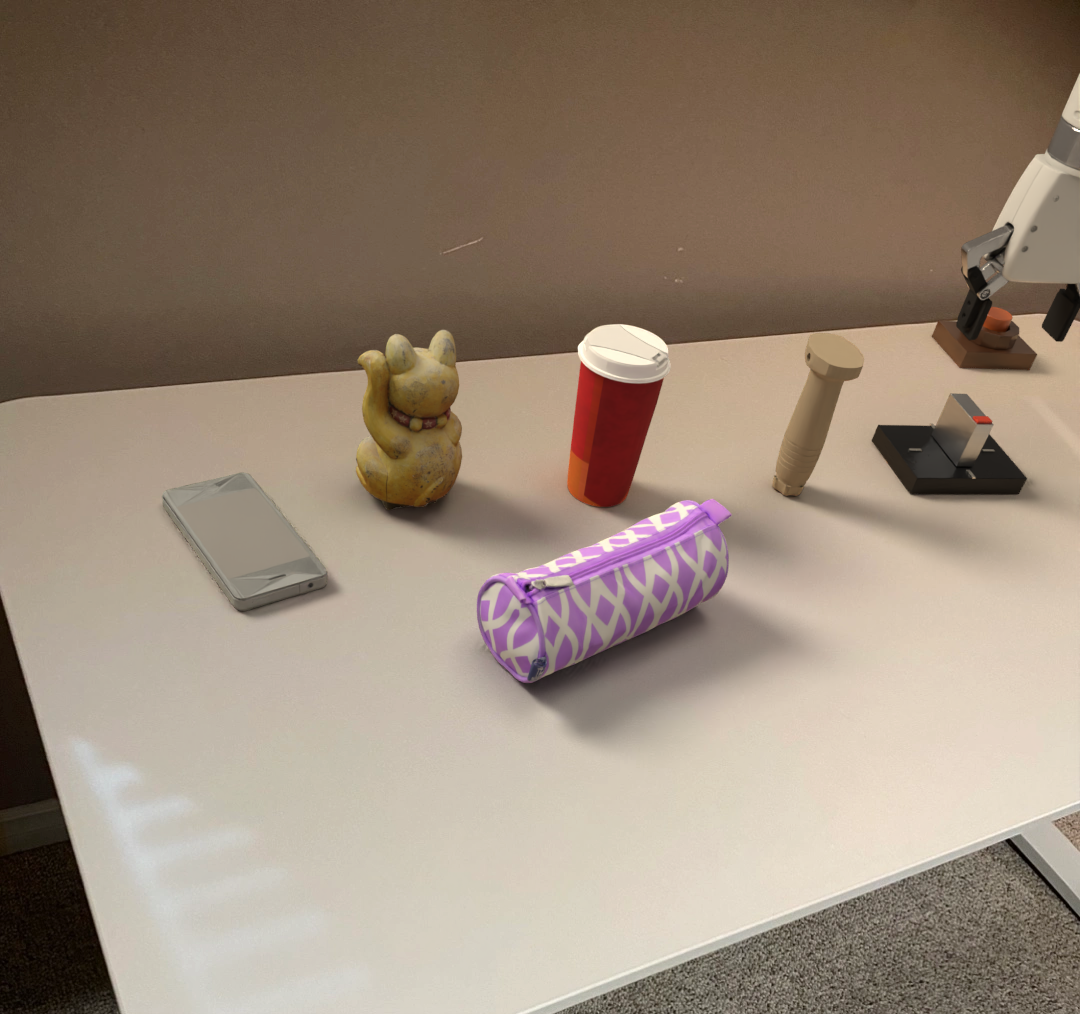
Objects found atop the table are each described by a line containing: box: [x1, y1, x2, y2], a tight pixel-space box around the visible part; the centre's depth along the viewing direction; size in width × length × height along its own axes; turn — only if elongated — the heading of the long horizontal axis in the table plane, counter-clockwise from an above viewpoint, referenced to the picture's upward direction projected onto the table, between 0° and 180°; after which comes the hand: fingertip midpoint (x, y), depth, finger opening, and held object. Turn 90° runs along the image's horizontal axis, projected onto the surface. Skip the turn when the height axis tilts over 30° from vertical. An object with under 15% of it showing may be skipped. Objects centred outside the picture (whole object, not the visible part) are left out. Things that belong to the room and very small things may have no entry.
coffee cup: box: [566, 323, 672, 508], centre depth 99 cm, size 8×8×15 cm
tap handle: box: [932, 393, 994, 467], centre depth 113 cm, size 6×2×5 cm, turn 12°
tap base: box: [871, 423, 1028, 495], centre depth 116 cm, size 13×10×2 cm
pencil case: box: [476, 498, 733, 684], centre depth 87 cm, size 22×9×10 cm, turn 130°
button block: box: [931, 320, 1038, 371], centre depth 136 cm, size 10×8×4 cm
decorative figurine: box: [355, 329, 463, 511], centre depth 94 cm, size 10×8×15 cm
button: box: [983, 306, 1013, 332], centre depth 134 cm, size 4×4×2 cm
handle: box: [771, 332, 865, 497], centre depth 104 cm, size 5×6×15 cm
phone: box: [161, 471, 328, 612], centre depth 91 cm, size 8×16×1 cm, turn 35°
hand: (1008, 334), depth 106 cm, fingers open, 9 cm apart
